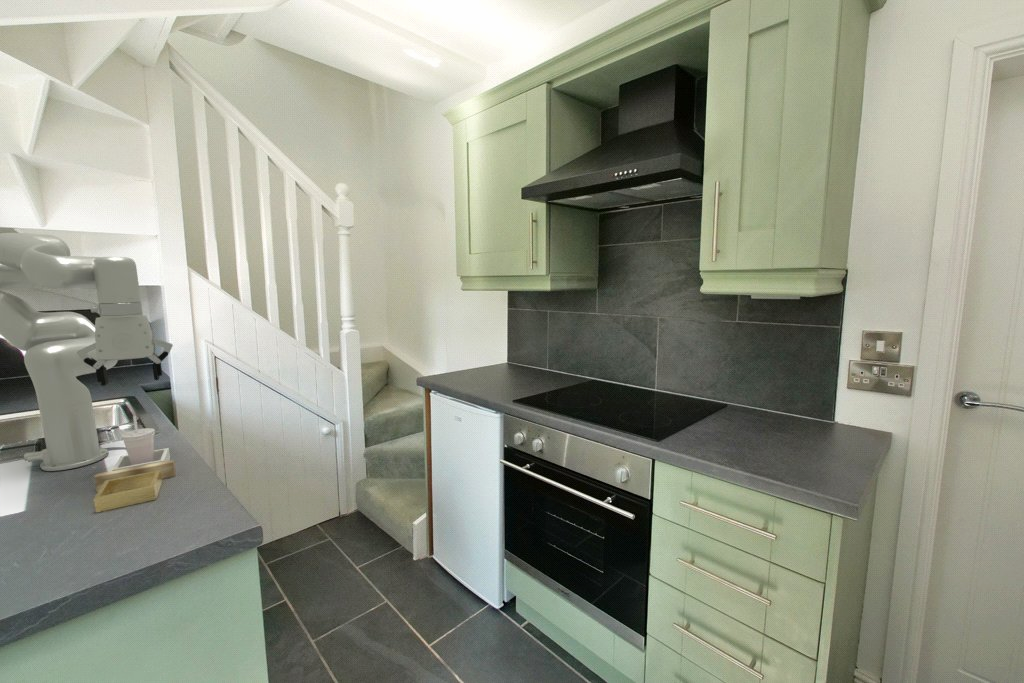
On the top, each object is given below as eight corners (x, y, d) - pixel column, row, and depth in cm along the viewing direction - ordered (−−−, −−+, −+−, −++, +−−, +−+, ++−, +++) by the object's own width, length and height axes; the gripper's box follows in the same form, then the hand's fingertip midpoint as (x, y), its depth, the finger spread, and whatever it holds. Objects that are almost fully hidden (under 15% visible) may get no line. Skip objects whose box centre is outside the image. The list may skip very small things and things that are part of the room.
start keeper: (113, 482, 103) (111, 470, 103) (122, 467, 111) (120, 456, 111) (165, 472, 108) (163, 460, 108) (170, 458, 116) (168, 447, 116)
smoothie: (120, 477, 106) (111, 420, 104) (135, 466, 112) (127, 412, 110) (152, 473, 107) (144, 418, 105) (165, 463, 113) (157, 410, 111)
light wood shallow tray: (95, 512, 90) (93, 498, 89) (107, 493, 98) (105, 480, 97) (156, 499, 95) (154, 486, 94) (162, 482, 103) (160, 469, 102)
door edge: (96, 492, 98) (94, 477, 98) (98, 488, 100) (96, 473, 99) (174, 476, 106) (173, 462, 105) (175, 473, 107) (174, 459, 107)
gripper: (65, 313, 96) (78, 390, 99) (165, 309, 105) (175, 380, 108) (75, 311, 102) (87, 383, 105) (169, 307, 111) (177, 374, 114)
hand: (131, 381), depth 106 cm, fingers open, 9 cm apart
